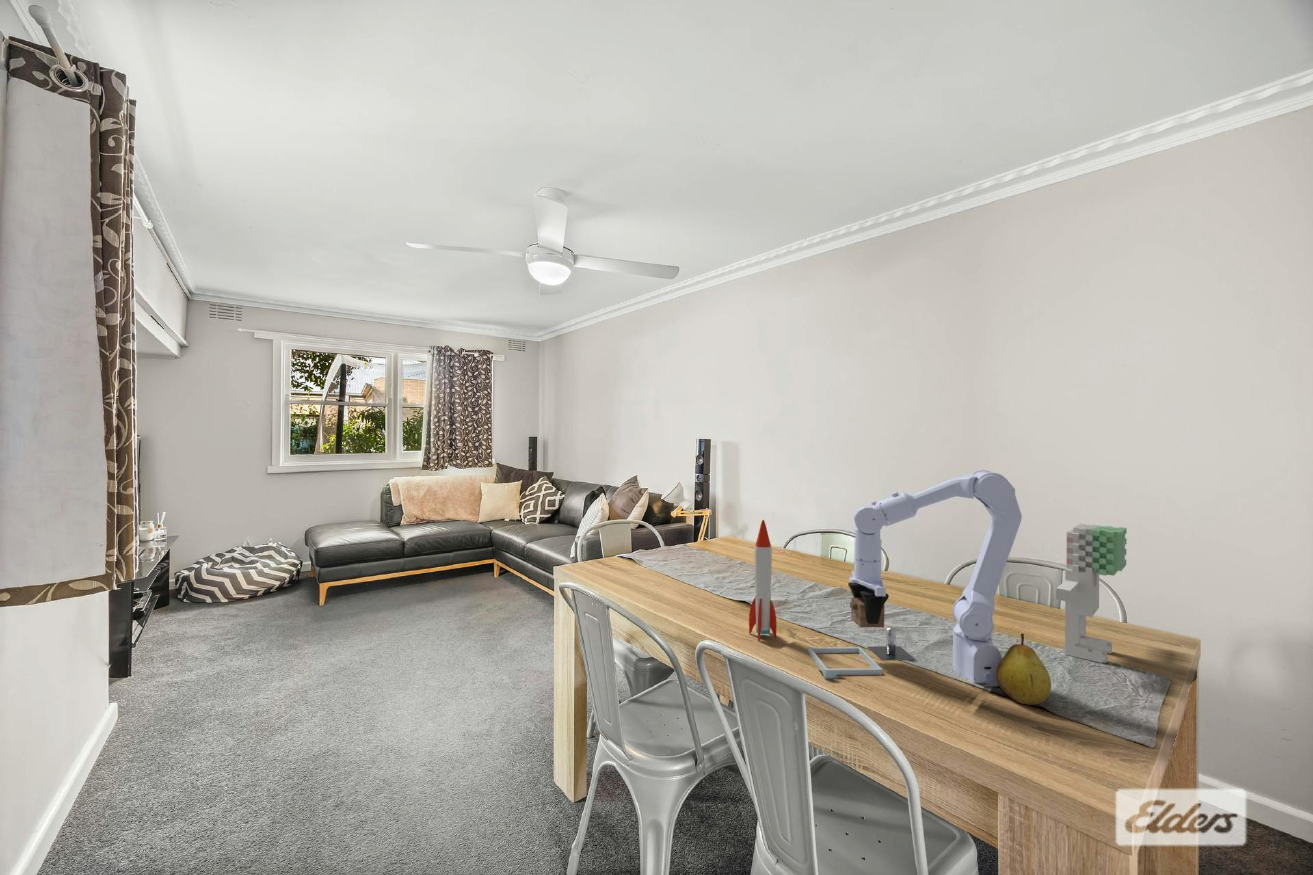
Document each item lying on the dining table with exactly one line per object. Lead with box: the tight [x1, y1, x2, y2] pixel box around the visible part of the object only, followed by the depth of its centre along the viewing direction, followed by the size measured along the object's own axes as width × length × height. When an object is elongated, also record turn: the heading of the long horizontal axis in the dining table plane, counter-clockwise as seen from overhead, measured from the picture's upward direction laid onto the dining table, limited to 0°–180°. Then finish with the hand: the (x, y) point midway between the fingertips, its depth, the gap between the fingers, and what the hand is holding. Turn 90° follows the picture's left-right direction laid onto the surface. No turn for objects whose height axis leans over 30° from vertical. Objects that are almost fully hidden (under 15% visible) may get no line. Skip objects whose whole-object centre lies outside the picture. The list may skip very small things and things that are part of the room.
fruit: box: [996, 633, 1052, 706], centre depth 108 cm, size 9×9×12 cm
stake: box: [867, 626, 917, 661], centre depth 127 cm, size 8×8×7 cm
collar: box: [849, 597, 885, 628], centre depth 125 cm, size 5×6×5 cm
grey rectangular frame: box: [807, 646, 883, 680], centre depth 122 cm, size 12×12×2 cm
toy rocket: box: [748, 519, 778, 642], centre depth 141 cm, size 6×6×30 cm
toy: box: [1055, 523, 1127, 664], centre depth 129 cm, size 30×10×30 cm, turn 134°
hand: (867, 618), depth 125 cm, fingers closed on collar, 5 cm apart
